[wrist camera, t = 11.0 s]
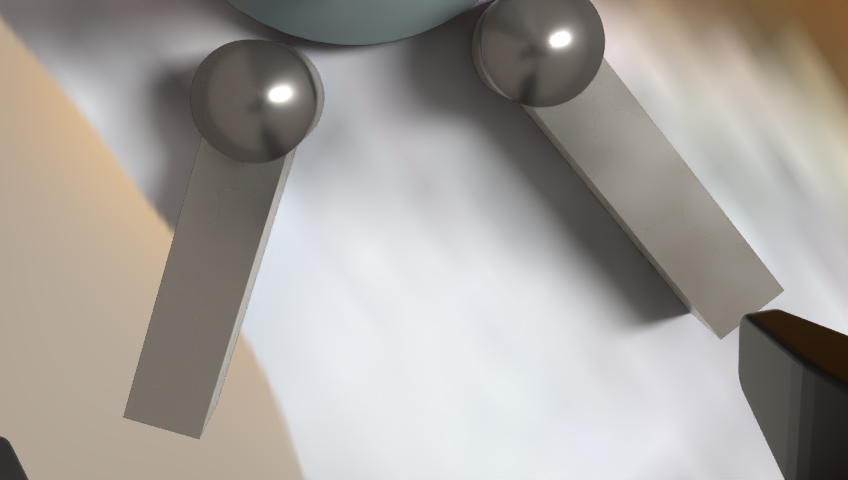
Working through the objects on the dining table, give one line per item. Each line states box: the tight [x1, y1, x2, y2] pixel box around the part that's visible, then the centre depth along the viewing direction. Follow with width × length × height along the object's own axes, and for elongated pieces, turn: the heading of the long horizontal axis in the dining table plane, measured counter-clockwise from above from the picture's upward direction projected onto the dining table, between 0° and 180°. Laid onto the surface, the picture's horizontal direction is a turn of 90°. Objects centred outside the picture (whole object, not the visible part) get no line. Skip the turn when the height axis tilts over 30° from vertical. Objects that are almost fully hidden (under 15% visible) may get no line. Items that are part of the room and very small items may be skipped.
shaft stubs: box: [123, 0, 784, 439], centre depth 21 cm, size 10×19×3 cm, turn 101°
